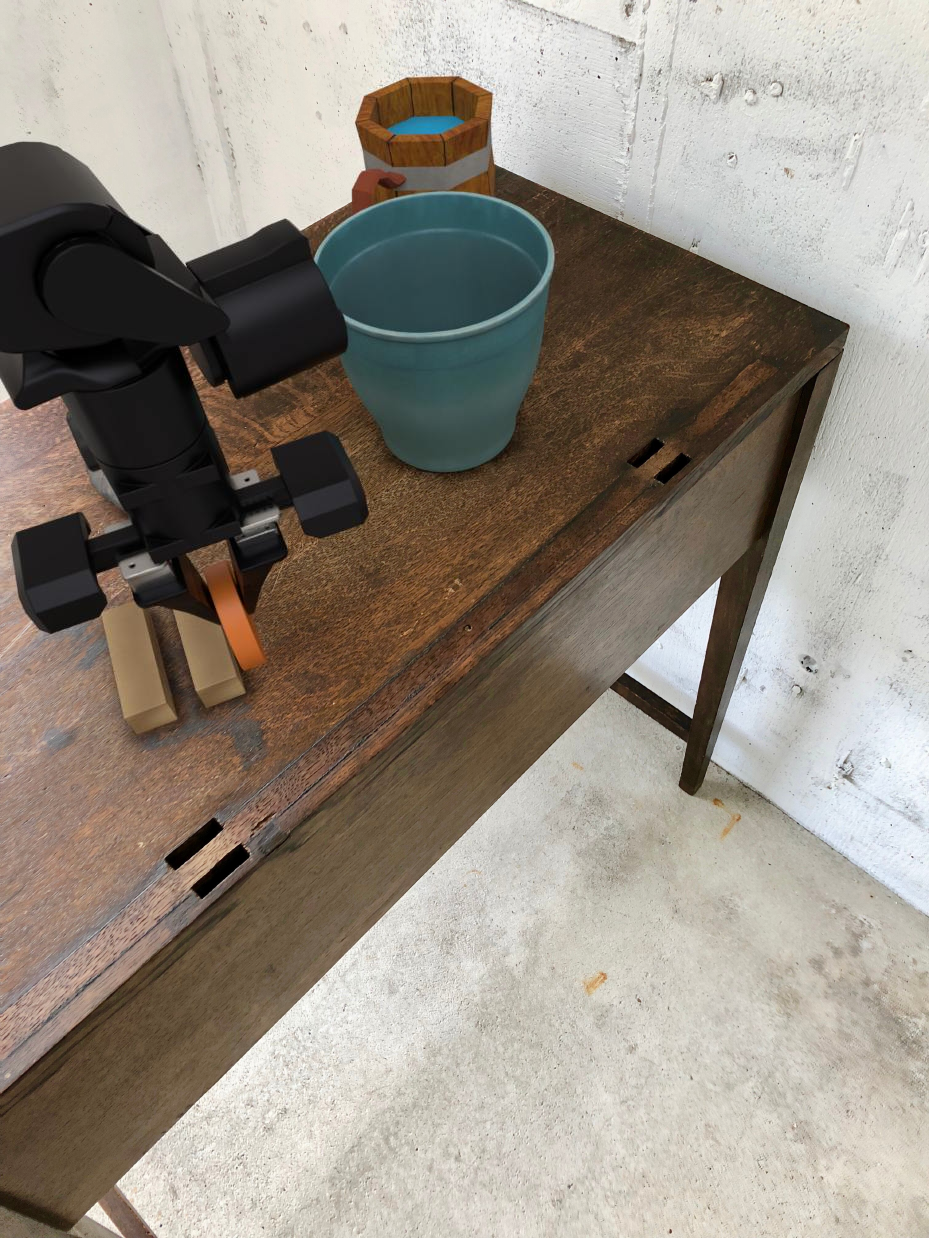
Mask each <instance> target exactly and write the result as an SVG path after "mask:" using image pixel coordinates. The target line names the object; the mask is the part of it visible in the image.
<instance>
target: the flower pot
mask: <svg viewBox="0 0 929 1238" xmlns="http://www.w3.org/2000/svg"><path fill="white" fill-rule="evenodd" d="M323 239H324V240H323V241H322V242H321V244H319V246H318V248H317V250H316V252H315V255H314V257H313V259H314V261H315V262H316V264H317V266H318V268H319V269H320V271H321V273H322V274H323V276H324V278H325V280H326V282H327V284H328V286H329V289H330V291H331V293H332V296H333V298H334V301H335V303H336V306H337V307H338V308H339V309H340V310H341V312H342V313H343V315H344V318H345V322H346V327H347V333H348V348H347V350H346V352H345V353H343V354H341V355H339V356H338V357H339V359H340V362H341V365H342V366H343V369H344V373H345V374H346V376H347V379H348V381H349V383H350V384H351V387H352V388H353V391H354V392H355V394H356V396H357V397H358V399H359V400H360V402H361V403H362V405H363V406H364V408H366V411H368V413H369V414H370V415H371V416H372V418H373V420H374V421H375V423H376V424H377V425H378V427H379V428H380V430H381V435H382V438H383V441H384V443H385V445H386V447H387V448H388V449H389V451H390V452H391V453H392V454H393V455H394V456H395V457H396V458H398V459H399V460H400V461H401V462H403V463H405V464H407V465H409V466H411V467H414V468H416V469H419V470H424V471H428V472H435V473H455V472H462V471H466V470H470V469H473V468H476V467H479V466H482V465H483V464H486V463H487V462H489V461H490V460H492V459H493V458H495V457H496V456H498V454H500V453H501V452H502V451H503V450H504V449H505V448H506V447H507V445H508V444H509V443H510V441H511V439H512V438H513V435H514V432H515V429H516V426H517V425H516V424H517V415H518V413H519V411H520V407H521V405H522V403H523V400H524V398H525V397H526V394H527V392H528V390H529V388H530V385H531V382H532V380H533V377H534V375H535V371H536V368H537V365H538V362H539V358H540V354H541V353H540V352H541V349H542V342H543V336H544V329H545V328H544V327H545V319H546V307H547V304H548V301H549V300H548V299H549V291H550V281H551V279H552V277H553V273H554V269H555V258H556V257H555V247H554V244H553V240H552V238H551V236H550V234H549V232H548V230H547V229H546V228H545V227H544V225H543V224H542V223H541V222H540V221H539V219H537V218H536V217H535V216H533V214H531V213H530V212H529V211H527V210H525V209H523V208H521V207H520V206H518V205H516V204H514V203H511V202H509V201H507V200H503V199H501V198H496V197H495V196H494V197H490V196H486V195H481V194H476V193H468V192H454V191H439V192H426V193H418V194H412V195H406V196H401V197H397V198H394V199H390V200H387V201H384V202H381V203H378V204H376V205H373V206H371V207H369V208H366V209H364V210H362V211H360V212H358V213H356V214H355V215H351V216H350V217H348V218H346V219H345V220H344V221H342V222H341V223H340V224H338V225H337V226H336V227H335V228H333V229H332V230H331V232H329V233H328V234H327V236H326V237H325V238H323Z"/></svg>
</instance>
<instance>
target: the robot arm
mask: <svg viewBox="0 0 929 1238" xmlns="http://www.w3.org/2000/svg"><path fill="white" fill-rule="evenodd" d="M181 347H182V348H186V347H187V349H188V351H189V353H190V355H191V356H192V359H193V361H194V363H195V364H196V366H197V368H198V370H199V371H200V372H201V374H202V376H203V378H204V379H205V380H206V382H207V383H208V384H209V386H210V387H211V388H213V389H215V388H217V387H219V386H222V385H224V384H226V382H227V385H228V388H229V390H230V392H231V393H232V395H233V397H234V399H235V400H237V401H238V400H241V399H242V398H243V399H246V398H248V397H251V396H253V395H255V394H257V393H260V392H262V391H264V390H266V389H268V388H270V387H273V386H275V385H277V384H279V383H282V382H284V381H286V380H288V379H290V378H293V377H295V376H298V375H299V374H302V373H303V372H306V371H309V370H311V369H313V368H314V367H317V366H319V365H322V364H323V363H325V362H328V361H330V360H332V359H334V358H337V357H340V356H339V355H341V354H343V353H345V352H346V350H347V348H348V333H347V327H346V322H345V318H344V315H343V313H342V312H341V310H340V309H339V308H338V307H337V306H336V303H335V301H334V298H333V296H332V293H331V291H330V289H329V286H328V284H327V282H326V280H325V278H324V276H323V274H322V273H321V271H320V269H319V268H318V266H317V264H316V262H315V261H314V257H313V253H312V249H311V244H310V240H309V238H308V236H306V235H305V233H304V232H302V231H301V230H300V229H299V228H298V227H297V226H296V225H295V224H294V223H293V222H292V221H291V220H290V219H288V218H283V219H280V220H278V221H275V222H273V223H270V224H268V225H265V226H263V227H262V228H260V229H258V231H256V232H254V233H253V234H252V235H250V236H248V237H245V238H243V239H241V240H238V241H235V242H234V243H231V244H229V245H226V246H223V247H221V248H219V249H216V250H214V251H211V252H208V253H206V254H203V255H201V256H198V257H196V258H193V259H191V260H188V261H186V262H185V264H184V262H183V261H182V260H181V259H180V258H179V257H178V255H177V254H176V253H175V252H174V250H172V247H170V246H169V244H167V242H166V241H165V240H164V239H163V237H162V236H161V235H160V234H158V233H155V232H153V231H152V230H150V229H149V228H147V227H146V226H144V225H142V224H140V223H139V222H137V221H136V220H135V219H133V218H132V217H130V216H129V215H128V213H127V212H126V210H124V209H123V207H122V206H121V205H120V203H119V202H118V201H117V200H116V199H115V198H114V196H113V195H112V194H111V193H110V192H109V190H108V189H107V187H106V186H105V185H104V184H103V183H102V182H101V181H100V179H99V178H98V177H97V176H96V175H95V173H94V172H93V171H92V170H91V169H90V167H89V166H88V165H86V164H85V163H84V162H82V161H81V160H79V159H78V158H77V157H75V156H73V155H72V154H71V153H69V151H68V152H67V151H65V150H63V149H62V148H61V147H60V146H58V145H54V144H51V143H46V142H43V141H24V140H23V141H16V142H13V143H8V144H5V145H3V146H2V145H1V146H0V381H1V383H2V385H3V387H4V388H5V391H6V392H7V394H8V397H9V398H10V400H11V402H12V403H13V406H15V408H16V409H17V410H19V411H29V410H31V409H33V408H36V407H38V406H41V405H43V404H46V403H47V402H50V401H52V400H53V401H54V400H55V399H57V398H61V400H62V401H63V404H64V405H65V408H66V409H67V410H68V411H66V413H65V421H66V422H67V425H68V427H69V430H70V432H71V435H72V437H73V440H74V442H75V444H76V448H77V450H78V451H79V454H80V456H81V457H82V460H83V461H84V465H85V464H86V466H87V468H88V469H89V470H90V471H92V472H95V471H98V470H102V471H103V473H104V475H105V477H106V479H107V480H108V482H109V484H110V486H111V488H112V489H113V491H114V493H115V495H116V496H117V498H118V500H119V502H120V504H121V505H122V507H123V509H124V511H125V512H124V511H123V512H124V513H125V514H126V516H127V518H128V519H126V520H122V521H119V522H116V523H113V524H110V525H107V526H105V527H104V528H103V529H102V534H100V535H98V536H94V537H92V538H89V536H90V534H91V533H92V527H91V524H90V522H89V521H88V518H87V517H86V516H85V514H84V513H83V511H76V512H73V513H69V514H67V515H64V516H61V517H58V518H55V519H52V520H48V521H46V522H42V523H39V524H37V525H34V526H30V527H27V528H24V529H22V530H19V531H16V532H15V534H14V536H13V539H12V540H11V541H12V542H11V544H10V550H11V556H12V557H11V558H12V562H13V563H12V564H13V570H14V578H15V582H16V589H17V598H18V600H19V602H20V604H21V606H22V609H23V611H24V613H25V614H26V615H27V617H28V618H29V620H30V621H31V622H32V623H33V625H35V627H36V628H37V629H38V630H39V631H40V632H43V633H47V634H49V635H53V634H56V633H59V632H61V631H64V630H67V629H70V628H73V627H75V626H78V625H81V624H84V623H87V622H89V621H93V620H95V619H99V618H100V617H101V616H102V615H101V614H102V612H103V611H105V609H106V607H107V606H108V604H109V603H108V598H107V594H106V593H105V591H104V590H103V589H102V587H101V586H100V582H99V579H98V574H102V573H105V572H107V571H110V570H113V569H116V568H118V570H119V573H120V576H121V578H122V580H123V581H124V582H126V583H128V584H129V586H130V591H131V594H132V598H133V601H134V602H135V603H136V605H137V606H138V607H140V608H142V609H151V608H154V607H162V608H165V609H169V610H172V611H173V610H177V611H182V612H185V613H189V614H191V615H194V616H197V617H199V618H202V619H204V620H207V621H209V622H212V623H214V624H217V625H219V626H221V625H222V624H221V621H220V618H219V616H218V613H217V611H216V608H215V605H214V602H213V600H212V597H211V594H210V591H209V588H208V585H207V584H206V582H205V581H204V579H203V578H202V577H203V576H202V575H201V573H200V572H199V570H197V569H198V568H197V567H196V566H195V565H194V564H193V562H192V560H191V559H190V558H189V556H188V554H190V553H192V552H195V551H197V550H201V549H203V548H206V547H210V546H212V545H215V544H218V543H221V542H224V541H226V546H227V550H228V554H229V557H230V558H229V559H230V564H231V567H232V569H233V572H234V576H235V580H236V584H237V587H238V590H239V593H240V596H241V599H242V602H243V605H244V608H245V610H246V611H247V613H248V615H251V616H252V615H254V614H255V612H256V609H257V605H258V603H259V602H258V601H259V598H260V594H261V591H262V588H263V586H264V583H265V582H266V580H267V578H268V576H269V575H270V572H271V570H272V569H273V567H274V566H275V565H276V564H278V563H280V562H283V561H285V560H286V559H287V558H288V556H289V548H288V546H287V543H286V540H285V538H284V536H283V533H282V531H281V527H280V526H279V524H278V523H279V522H280V520H281V519H282V517H283V515H282V512H281V511H284V510H288V509H290V508H294V511H295V513H296V515H297V519H298V521H299V524H300V528H301V531H302V532H303V534H304V536H308V537H311V538H315V539H319V540H322V539H325V538H328V537H330V536H333V535H336V534H339V533H342V532H345V531H347V530H350V529H354V528H356V527H359V526H362V525H365V522H366V520H367V519H368V517H369V516H370V510H369V506H368V505H369V504H368V501H367V497H366V493H365V490H364V488H363V485H362V481H361V479H360V477H359V476H358V474H357V471H356V470H355V467H354V465H353V463H352V460H350V457H349V455H348V453H347V451H346V449H345V448H344V445H343V443H342V441H341V439H340V437H339V436H338V435H336V434H335V433H333V432H331V431H329V430H328V429H325V430H321V431H317V432H316V433H313V434H309V435H307V436H303V437H299V438H297V439H294V440H291V441H289V442H285V443H282V444H279V445H276V446H273V447H270V448H269V451H270V454H271V458H272V461H273V463H274V466H275V469H276V470H277V471H278V473H279V475H276V476H273V477H270V478H267V479H264V480H261V479H260V477H259V473H258V471H257V470H256V469H253V468H252V469H249V470H245V471H243V472H239V473H237V474H234V475H231V474H230V473H231V470H230V467H229V465H228V463H227V462H228V461H227V460H226V457H225V454H224V452H223V449H222V447H221V444H220V442H219V439H218V437H217V434H216V432H215V429H214V427H212V426H211V423H210V421H209V418H208V415H207V412H206V411H205V408H204V406H203V403H202V401H201V397H200V396H199V392H198V390H197V388H196V386H195V385H196V384H195V383H194V380H193V377H192V375H191V373H190V369H189V368H188V364H187V362H186V360H185V357H184V355H183V353H182V350H181Z"/></svg>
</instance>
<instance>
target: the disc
mask: <svg viewBox="0 0 929 1238" xmlns="http://www.w3.org/2000/svg"><path fill="white" fill-rule="evenodd" d="M203 574H204V576H205V578H206V581H207V585H208V588H209V591H210V594H211V597H212V600H213V602H214V605H215V608H216V611H217V613H218V616H219V618H220V621H221V624H222V626H223V629H224V631H225V634H226V636H227V638H228V641H229V643H230V645H231V648H232V650H233V654H234V657H235V659H236V660H237V662H238V664H239V666H240V667H241V669H242V670H243V671H244V672H246V671H248V670H252V669H254V668H256V667H259V666H261V665H264V664H266V663H268V660H267V655H266V653H265V649H264V646H263V643H262V641H261V637H260V634H259V632H258V630H257V627H256V623H255V621H254V618H253V616H252V614H251V615H248V613H247V611H246V610H245V608H244V605H243V602H242V599H241V596H240V593H239V590H238V587H237V584H236V580H235V576H234V571H233V567H232V564H231V562H230V561H228V559H224V560H221V561H218V562H216V563H212V564H210V565H207V566H204V567H203Z"/></svg>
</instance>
